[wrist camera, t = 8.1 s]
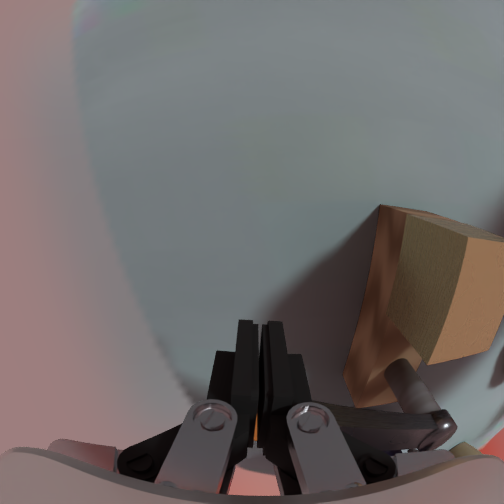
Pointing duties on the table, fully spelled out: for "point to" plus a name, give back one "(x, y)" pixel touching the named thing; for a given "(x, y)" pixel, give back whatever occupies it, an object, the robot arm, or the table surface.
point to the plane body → (386, 330)
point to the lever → (393, 427)
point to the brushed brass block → (448, 288)
